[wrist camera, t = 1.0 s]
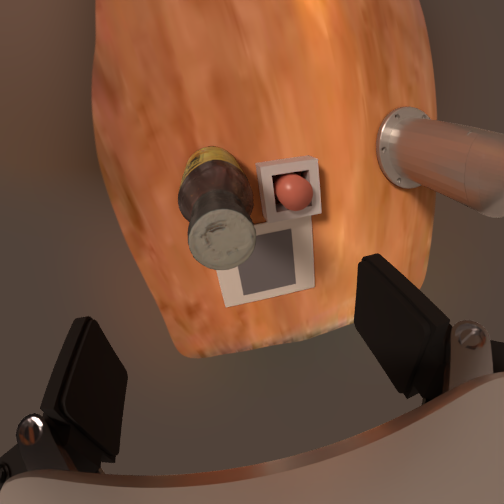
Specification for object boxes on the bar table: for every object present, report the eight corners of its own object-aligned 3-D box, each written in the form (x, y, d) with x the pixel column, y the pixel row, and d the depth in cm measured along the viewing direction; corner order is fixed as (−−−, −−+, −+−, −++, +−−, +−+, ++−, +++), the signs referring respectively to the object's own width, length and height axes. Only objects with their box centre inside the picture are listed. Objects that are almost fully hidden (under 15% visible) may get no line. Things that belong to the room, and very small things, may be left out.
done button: (302, 170, 34) (311, 174, 31) (305, 200, 36) (314, 207, 33) (271, 175, 34) (277, 180, 31) (275, 205, 35) (281, 213, 33)
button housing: (308, 155, 35) (317, 158, 32) (313, 206, 38) (321, 213, 35) (255, 163, 34) (260, 167, 31) (262, 215, 37) (267, 223, 35)
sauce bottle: (190, 141, 32) (174, 169, 14) (241, 149, 33) (288, 186, 16) (182, 193, 34) (163, 277, 17) (231, 200, 36) (263, 287, 18)
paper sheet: (310, 213, 38) (311, 214, 38) (314, 285, 44) (314, 287, 44) (207, 234, 37) (207, 235, 37) (225, 306, 43) (225, 307, 42)
